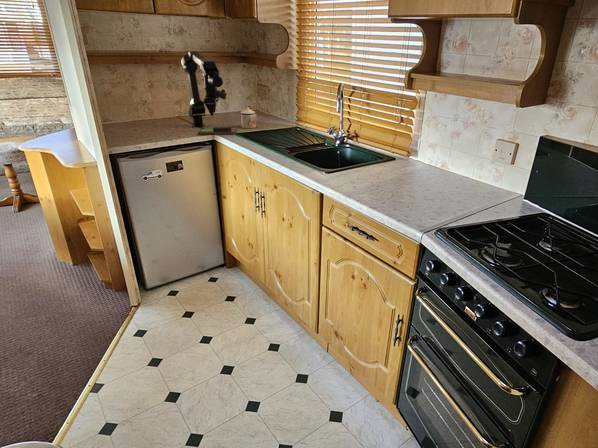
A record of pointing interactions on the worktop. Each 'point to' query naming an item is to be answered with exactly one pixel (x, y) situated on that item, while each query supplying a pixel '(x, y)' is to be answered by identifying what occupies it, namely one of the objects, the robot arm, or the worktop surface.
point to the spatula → (216, 129)
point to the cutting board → (218, 132)
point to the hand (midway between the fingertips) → (213, 114)
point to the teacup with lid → (248, 118)
